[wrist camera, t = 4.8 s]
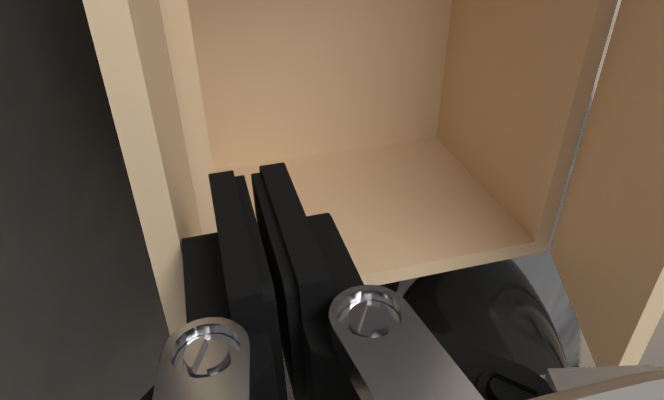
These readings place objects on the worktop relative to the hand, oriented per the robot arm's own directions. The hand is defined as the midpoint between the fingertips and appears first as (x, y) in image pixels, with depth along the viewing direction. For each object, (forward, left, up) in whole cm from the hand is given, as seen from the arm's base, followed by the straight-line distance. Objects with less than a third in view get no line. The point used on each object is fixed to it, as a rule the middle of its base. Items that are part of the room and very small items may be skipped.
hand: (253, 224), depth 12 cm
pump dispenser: (+22, +16, -19) cm, 33 cm away
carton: (0, +7, -19) cm, 20 cm away
